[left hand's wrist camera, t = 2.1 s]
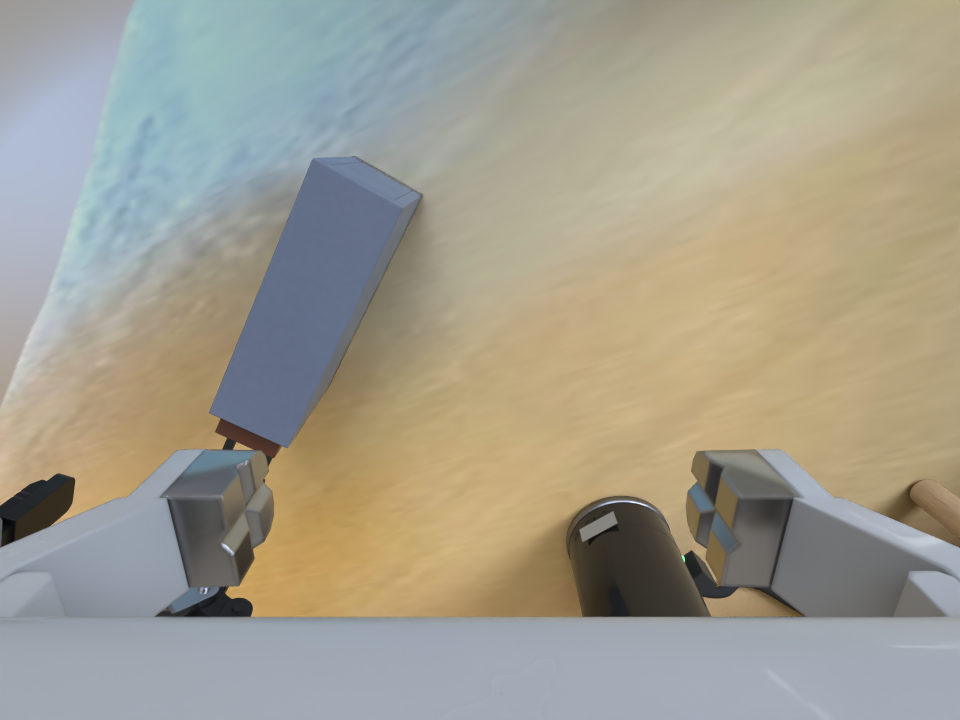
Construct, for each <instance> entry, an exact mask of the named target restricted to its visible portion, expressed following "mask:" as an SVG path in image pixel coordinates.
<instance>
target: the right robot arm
mask: <svg viewBox="0 0 960 720" xmlns="http://www.w3.org/2000/svg"><path fill="white" fill-rule="evenodd" d="M74 486H75V478H73V477H69V476H66V475H63V474H56V475H54V476H53V477H52V478H50V479H49V480H48V481H45V480H40V481H37V482H35V483H32V484H30V485H28V486H27V487H26V488H24V489H23V490H21V492H19V493H17V494H16V495H14V497H12V498H10V499H9V500H8V501H6V502H5V503H3V504H2V505H1V506H0V548H1V547H3V546H5V545H8V544H10V543H12V542H15V541H17V540H19V539H22V538H24V537H26V536H29V535H31V534H34V533H36V532H38V531H41V530H43V529H45V528H48V527H50V526H51V525H52V524H53V523H54V522H56V521H57V520H58V519H59V518H60V517H61V516H63V515H64V514H65V513H66V512H67V511H68V510H69V508H70V506H71V504H72V502H73V494H74ZM566 543H567V549H568V554H569V557H570V560H571V563H572V568H573V572H574V578H575V583H576V587H577V592H578V596H579V601H580V606H581V610H582V615H583V617H712V616H711V614H710V612H709V610H708V608H707V606H706V604H705V602H704V600H703V598H702V597H707V598H725V597H728V596H730V595H731V594H732V593H734V592H735V591H736V590H737V589H738V588H739V587H731V586H719V587H716V586H717V584H716V583H715V581H714V579H713V577H712V575H711V573H710V571H709V570H708V568H707V566H706V564H705V563H704V562H703V561H702V560H701V559H700V558H699V557H698V556H697V555H696V554H695V553H694V552H693V551H692V550H691V551H690V552H688V553H687V554H685V555H684V556H682V555H681V553H680V551H679V549H678V547H677V545H676V543H675V541H674V539H673V537H672V535H671V532H670V529H669V526H668V524H667V522H666V520H665V518H664V516H663V515H662V513H661V512H660V511H659V510H658V509H657V508H656V507H655V506H653V505H652V504H650V503H649V502H647V501H644V500H642V499H639V498H635V497H629V496H615V497H608V498H604V499H601V500H598V501H596V502H594V503H592V504H590V505H588V506H587V507H586V508H584V509H583V510H582V511H581V512H580V513H579V514H577V516H576V517H575V518H574V520H573V521H572V523H571V525H570V527H569V529H568V532H567V538H566ZM228 588H229V586H228V587H192V588H189V591H187V592H186V593H185V594H183V595H182V596H181V597H179V598H178V599H177V600H175V601H174V602H173V603H172V604H170V605H169V606H168V607H166V608H165V609H164V610H162V611H161V612H160V613H159V614H157V615H156V616H155V617H251V614H252V611H253V607H252V604H251V603H250V602H249V601H248V600H246V599H244V598H235V599H231V598H229V597H228V596H227V595H226V594H225V593H226V591H227V589H228ZM752 588H755V589H758V590H760V591H762V592H765V593H766V594H768V595H770V596H772V597H773V598H775V599H777V600H778V601H780V602H782V603H783V604H785V605H787V606H788V607H790V608H792V609H793V610H795V611H797V612H799V611H798V610H796V609H795V608H794V607H793V606H791V605H790V604H789V603H787V602H786V601H785V600H783V599H782V598H781V597H779V596H778V595H777V594H776V593H774V592H773V591H772V590H771V588H768V587H752ZM799 613H800V612H799ZM801 614H802V613H801ZM802 615H803V614H802Z"/></svg>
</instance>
